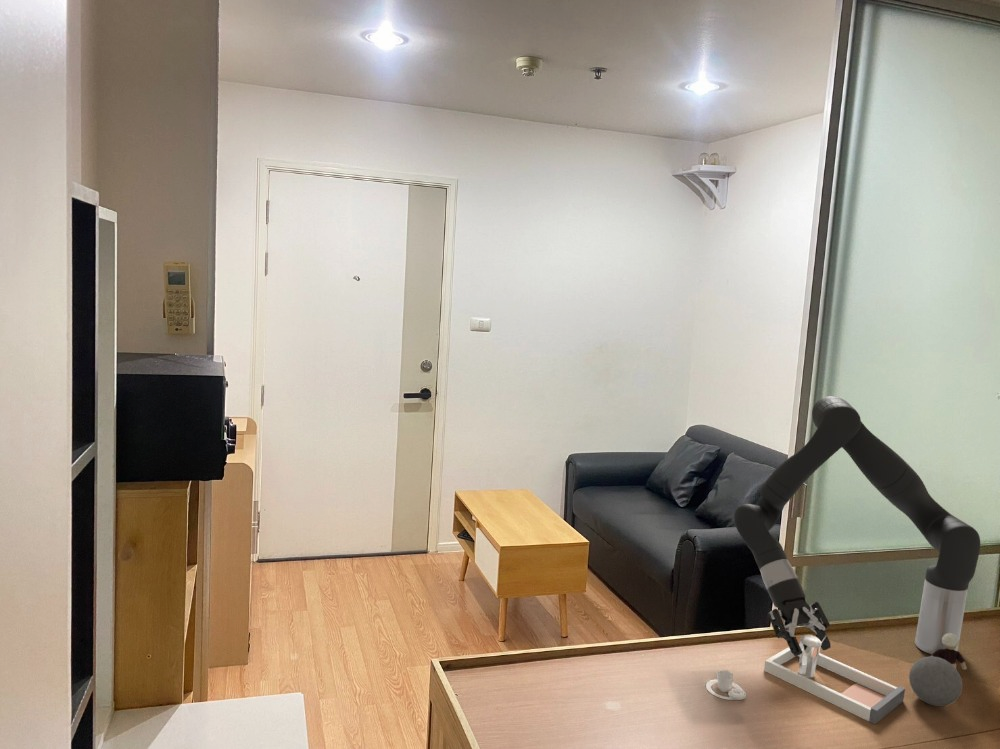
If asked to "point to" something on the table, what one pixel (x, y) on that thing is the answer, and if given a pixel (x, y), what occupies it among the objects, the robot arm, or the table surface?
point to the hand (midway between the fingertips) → (813, 652)
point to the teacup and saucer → (726, 686)
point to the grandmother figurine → (950, 651)
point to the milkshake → (809, 655)
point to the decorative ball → (935, 681)
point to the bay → (851, 699)
